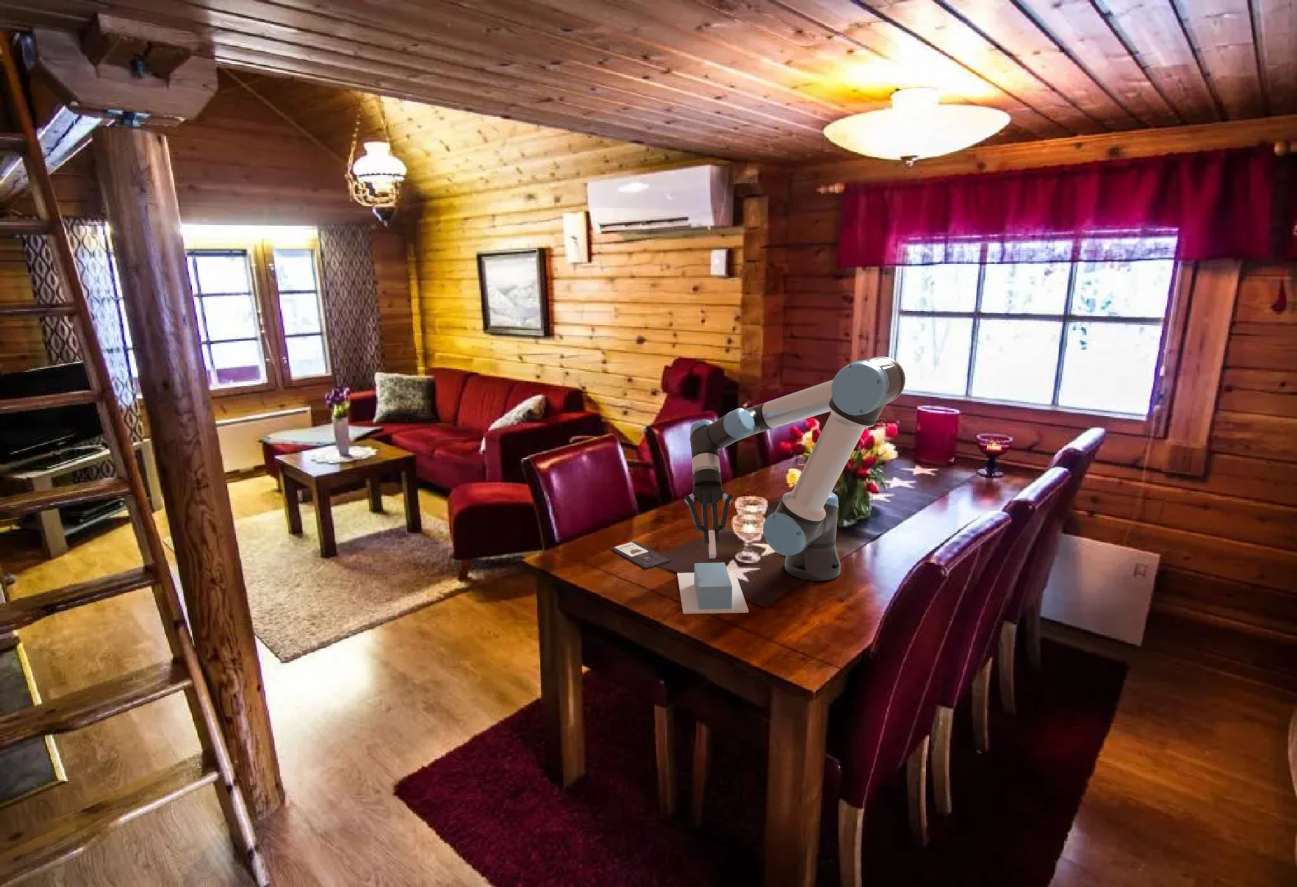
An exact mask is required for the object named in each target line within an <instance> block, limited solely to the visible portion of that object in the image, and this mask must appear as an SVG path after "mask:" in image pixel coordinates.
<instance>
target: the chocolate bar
mask: <svg viewBox="0 0 1297 887" xmlns="http://www.w3.org/2000/svg"><path fill="white" fill-rule="evenodd" d="M610 550H611V551H612V552H614V553H616V554H617V555H619V556H621V557H623V558H625V559H626V560H628V561H630V562H631V563H633V564H635V565H637V566H638V567H640V568H642V569H643V570H646V571H647V570H650V569H653V568H655V567H659V566H662V565H666V564H668V563H671V562H672V560H671V559H670V558H667V557H666V556H664V555H662V554H660V553H658V552H657V551H654V550H652V549H650V548H648V546H645V545H644V544H641V543H639V542H637V541H635V540H634V541H631V542H628V543H625V544H624V543H623V544H620V545H616V546H614V547H610Z"/></svg>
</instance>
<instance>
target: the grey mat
mask: <svg viewBox="0 0 1297 887" xmlns="http://www.w3.org/2000/svg"><path fill="white" fill-rule="evenodd" d="M727 572H728V571H727ZM676 575H677V582H678V589H679V594H680V602H681V608H682V613H683V614H684V615H689V614H690V615H691V614H693V615H694V614H696V615H697V614H698V615H699V614H739V613H740V614H741V613H744V614H745V613H749V608H748V605H747V603H746V600H745V597H744V594H743V590H742V588H741V585H740V582H739V579H738V576H737V574H736V571H731V572H730V571H729V572H728V575H729V578H730V581H731V584H732V609H699V606H698V601H697V596H696V591H695V586H694V572H677V573H676Z"/></svg>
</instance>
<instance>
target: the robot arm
mask: <svg viewBox="0 0 1297 887" xmlns="http://www.w3.org/2000/svg"><path fill="white" fill-rule="evenodd" d="M905 385H906V374H905V372H904V369H903V367H902V365H901V364H900V363H899V362H898V361H897V360H895V359H894V358H891V357H889V356H888V357H887V356H882V355H878V356H873V357H869V358H867V359H860V360H855V361H852V362H850V363H848V364H846V366H844V367H842V368H841V369H840V370H839V371H838V372H837V373H836V374H835V375H834V378H833V379H831V380H828V381H825V382H822V383H819V384H816V385H813V386H811V387H808V388H804V389H802V390H798V391H796V392H792V393H790V394H786V395H784V396H781V397H778V398H775V399H772V400H769V401H767V402H764V403H760V404H757V405H754V406H750V407H748V408H745V409H744V408H742V407H739V408H738V407H737V408H736V409H734V410H732V411H729V412H727V413H726V414H725V415H723V416H722V417H720V418H718V419H717V420H715V421H712V420H710V419H702V420H697V421H695V422H694V423H692V424H691V427H690V431H689V432H690V433H689V434H690V436H689V441H690V450H691V466H692V469H691V470H692V484H693V485H692V486H693V489H692V491H691V494H689V495H688V494H687V495H685V496H684V503H685V504H686V506H687V507H688V510H689V512H690V515H691V519H692V522H693V524H694V525H693V526H694V528H695V530H696V532H698V533H699V532H700V533H702V535H703V544H704V545H705V546H707V545H708V558H709V559H716V557H717V547H716V546H717V545H719V544H720V532H724V531H725V529H726V524H727V518H728V514H729V513H728V512H729V508H730V505H731V503H732V502H733V497H734V496H733V495H732V494H727V493H725V490H724V489H723V486H722V474H721V465H720V464H721V463H720V451H721V450H722V449H724V448H726V447H728V446H730V445H732V444H734V443H735V442H739V441H740V440H742V439H745V438H748V437H752V436H753V435H756V434H759V433H762V432H766V431H770V430H773V429H775V428H778V427H783V426H786V425H788V424H791V423H792V424H793V423H795V422H798V421H802V420H806V419H809V418H813V417H815V416H818V415H823V414H826V413H829V412H830V415H829V416H828V418H827V420H826V423H825V424H824V426H823V428H822V430H821V431H820V435H819V437H818V438H817V441H816V442H815V445H814V447H813V448H812V450H811V452H810V455H809V456H808V459H807V461H806V462H805V465H804V467H803V469H802V471H801V472H800V474H799V476H798V479H797V481H796V483H795V484H794V486H793V489H792V491H787V492H785V493H784V494H783V496H782V498H781V499H780V501H779V503H778V505H777V508H776V510H775V511H774V512H773V513H770V514H769V515H768V516H767V518H766V519H765V520H764V522H763V527H762V534H763V536H764V538H765V541H766V543H767V545H768V546H769V547H770V549H772V551H774V552H775V553H777V554H779V555H782V556H786V557H785V560H784V569H785V571H786V572H787V574H789V575H791V576H792V577H795V578H798V579H801V580H805V581H811V582H812V581H813V582H822V581H823V582H824V581H825V582H826V581H830V580H833V579H836V578H837V577H839V575H840V574H841V561H840V557H839V553H838V550H837V546H836V540H837V528H838V527H837V526H838V511H839V498H838V495H837V494H835V493H834V492H833V489H834V488H835V486H836V484H837V482H838V480H839V478H840V476H841V475H842V472H843V471H844V469H845V467H846V465H847V463H848V462H849V460H850V458H851V455H852V454H853V452H854V449H855V448H856V446H857V444H858V442H859V440H860V439H861V436H862V435H863V432H864V431H865V429H868V428H872V427H874V426H875V424H876V423H877V420H878V419H879V417H880V416H881V414H882V411H883V410H884V408H885V407H886V405H888V404H891V402H894V401H895V400H896V399H897V398H899V397H900V395H901V394H902V392H903V391H904V388H905ZM721 500H722V502H723V503H724V504H723V510H722V514H721V521H720V524H719V517H718V504H719V502H720V501H721ZM694 501H696V502H697V503H698V504H699V505H700V507H701V508H700V510H701V519H702V523H701V521H700V517H699V514H698V511H697V509H696V505H695V502H694ZM708 507H710V511H711V520H712V522H711V523H712V529H709V517H708Z"/></svg>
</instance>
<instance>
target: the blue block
mask: <svg viewBox="0 0 1297 887" xmlns="http://www.w3.org/2000/svg"><path fill="white" fill-rule="evenodd" d="M693 565H694V566H693V567H694V568H693V570H694V571H693V573H694V586H695V591H696V596H697V601H698V606H699V609H732V584H731V581H730V578H729V575H728V570H727V567H726V562H698V563H696V562H695V563H694V564H693Z"/></svg>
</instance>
